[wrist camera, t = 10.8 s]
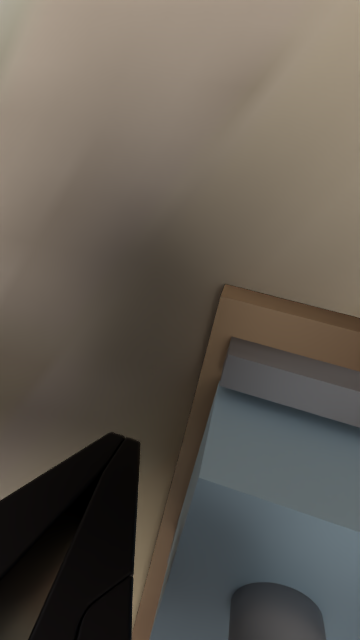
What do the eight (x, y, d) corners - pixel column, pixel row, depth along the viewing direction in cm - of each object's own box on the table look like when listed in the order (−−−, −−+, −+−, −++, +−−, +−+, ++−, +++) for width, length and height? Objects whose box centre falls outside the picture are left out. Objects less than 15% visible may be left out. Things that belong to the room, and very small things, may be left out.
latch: (389, 431, 7) (511, 641, 4) (311, 565, 9) (346, 787, 6) (219, 380, 8) (189, 523, 4) (179, 517, 10) (136, 692, 6)
